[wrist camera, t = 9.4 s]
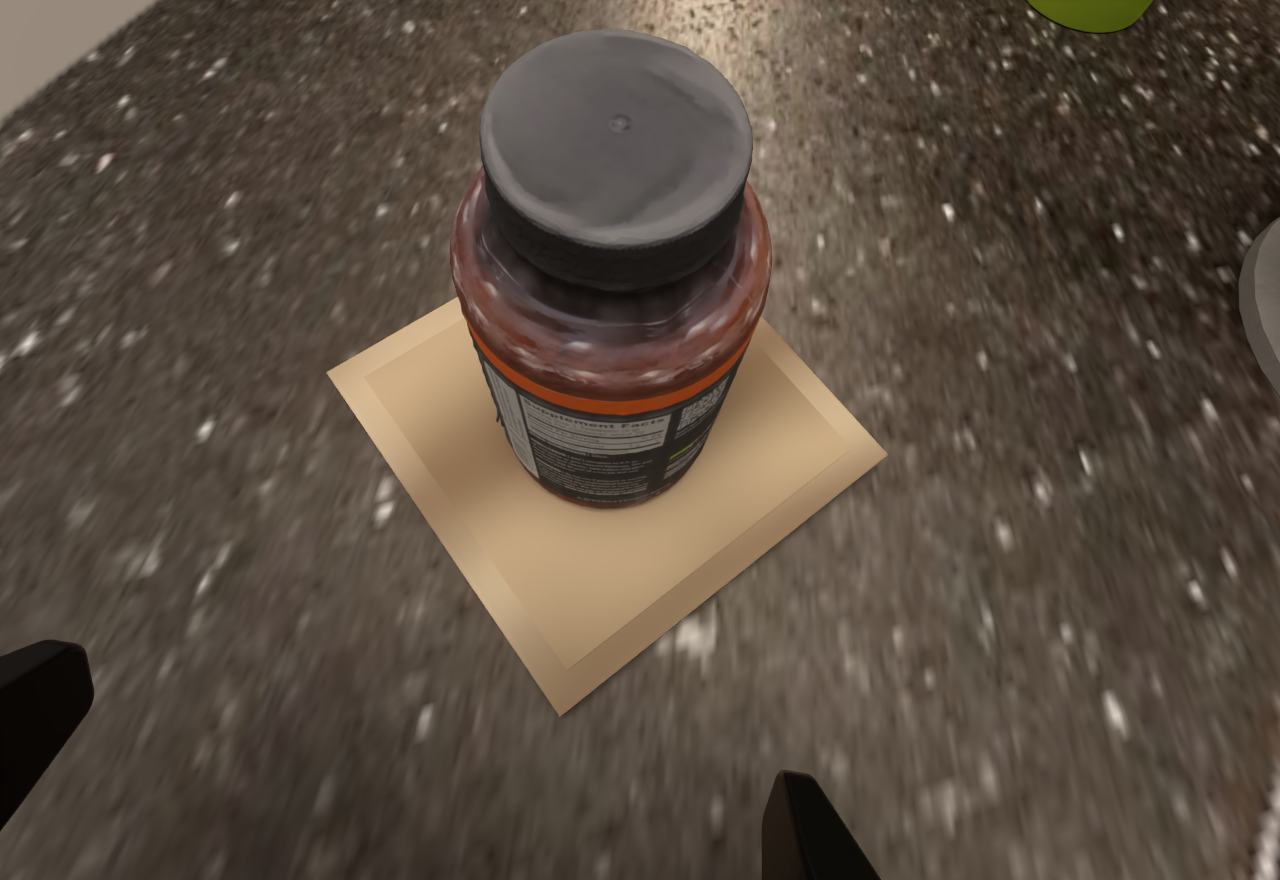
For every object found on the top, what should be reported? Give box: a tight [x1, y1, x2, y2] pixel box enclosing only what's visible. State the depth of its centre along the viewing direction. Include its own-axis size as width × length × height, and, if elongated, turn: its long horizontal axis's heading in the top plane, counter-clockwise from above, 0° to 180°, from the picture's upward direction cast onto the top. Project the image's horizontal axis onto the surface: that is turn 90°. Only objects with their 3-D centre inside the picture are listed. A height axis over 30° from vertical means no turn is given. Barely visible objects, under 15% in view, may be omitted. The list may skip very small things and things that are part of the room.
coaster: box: [327, 297, 888, 717], centre depth 21 cm, size 12×12×1 cm
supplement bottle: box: [450, 30, 772, 509], centre depth 15 cm, size 6×6×11 cm
